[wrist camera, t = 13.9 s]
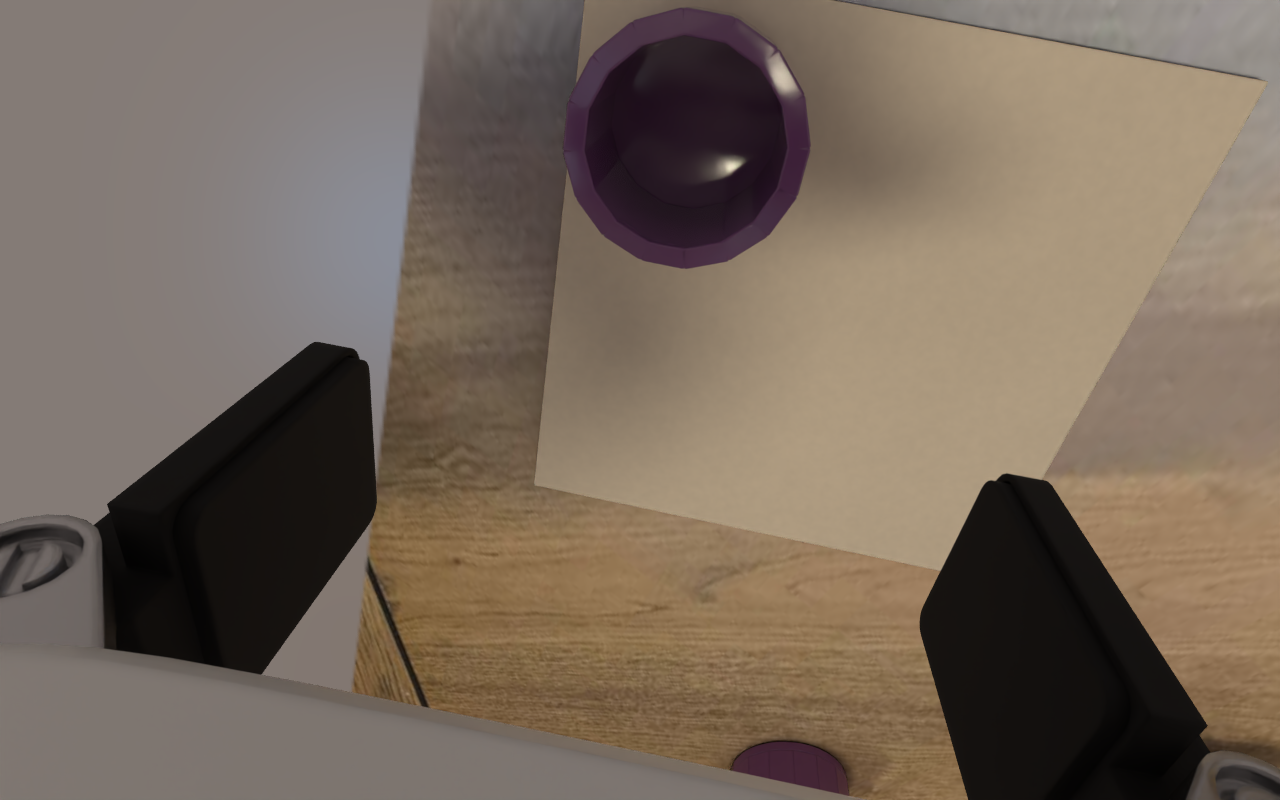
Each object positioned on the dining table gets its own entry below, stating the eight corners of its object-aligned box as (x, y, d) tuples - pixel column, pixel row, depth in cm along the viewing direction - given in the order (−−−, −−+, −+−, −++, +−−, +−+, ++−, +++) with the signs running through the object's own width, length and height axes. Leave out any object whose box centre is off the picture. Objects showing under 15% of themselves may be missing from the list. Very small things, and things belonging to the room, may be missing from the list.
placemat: (535, 480, 31) (533, 485, 31) (591, -45, 21) (588, -46, 21) (981, 574, 31) (984, 580, 30) (1260, 80, 20) (1269, 81, 20)
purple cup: (586, 200, 24) (552, 244, 20) (612, -10, 21) (578, -14, 17) (767, 236, 24) (773, 288, 20) (822, 29, 21) (841, 36, 17)
